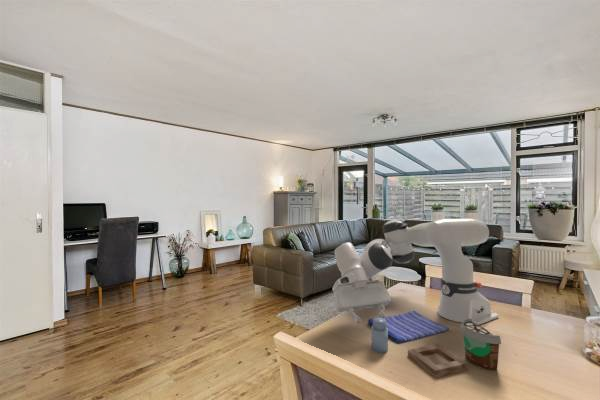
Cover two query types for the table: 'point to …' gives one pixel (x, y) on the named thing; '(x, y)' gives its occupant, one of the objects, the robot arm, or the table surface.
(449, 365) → the square wooden frame
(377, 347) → the blue-grey shaker
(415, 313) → the dish towel
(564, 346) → the table surface
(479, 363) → the food container
